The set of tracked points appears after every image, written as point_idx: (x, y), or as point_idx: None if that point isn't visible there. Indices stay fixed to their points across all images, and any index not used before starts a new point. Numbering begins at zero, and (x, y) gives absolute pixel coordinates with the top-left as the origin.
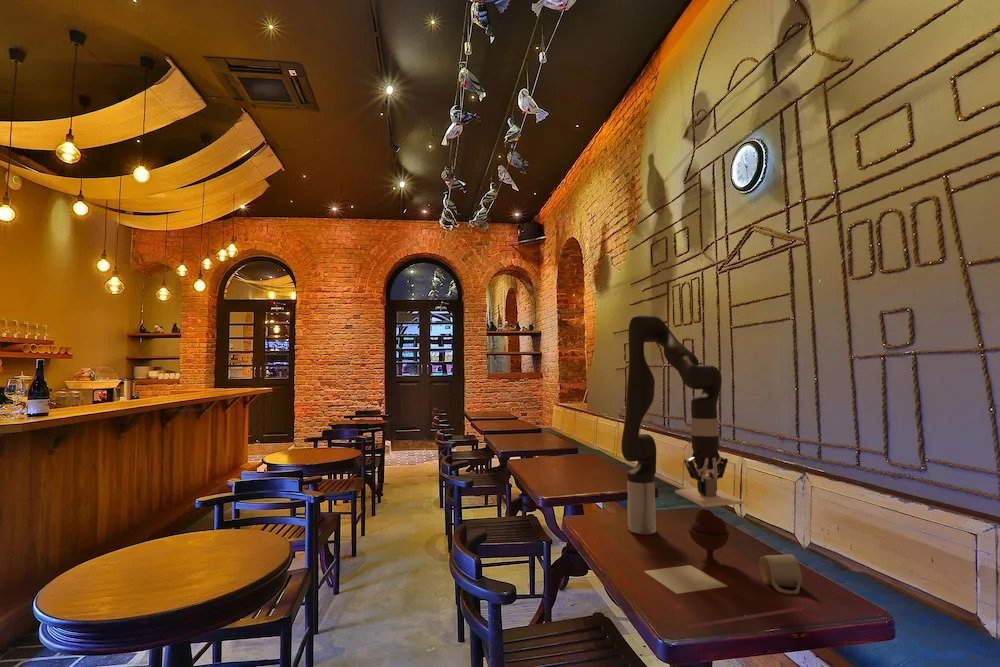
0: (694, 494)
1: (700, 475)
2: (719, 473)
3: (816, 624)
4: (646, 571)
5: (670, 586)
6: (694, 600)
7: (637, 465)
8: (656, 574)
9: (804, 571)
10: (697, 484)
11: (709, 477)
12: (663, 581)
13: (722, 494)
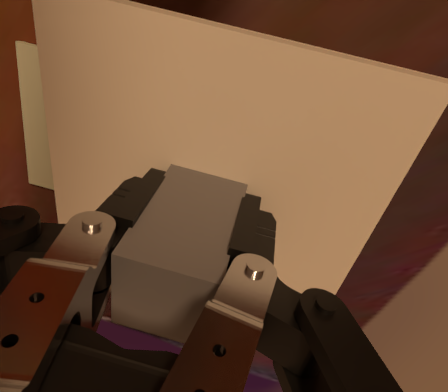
0: (118, 151)
1: (100, 263)
2: (281, 382)
3: (179, 344)
4: (22, 48)
5: (35, 152)
6: (56, 209)
7: None
8: (38, 80)
9: (419, 258)
10: (102, 204)
11: (180, 304)
12: (33, 124)
13: (307, 243)
